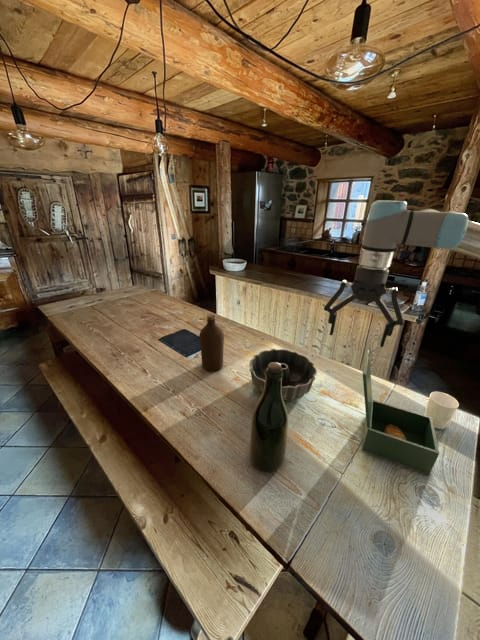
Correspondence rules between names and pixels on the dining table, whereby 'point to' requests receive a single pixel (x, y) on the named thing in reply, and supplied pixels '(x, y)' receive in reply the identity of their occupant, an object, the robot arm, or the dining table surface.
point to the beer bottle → (269, 423)
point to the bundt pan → (284, 372)
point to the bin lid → (367, 387)
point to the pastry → (394, 431)
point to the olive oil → (211, 345)
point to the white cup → (441, 409)
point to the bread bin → (410, 453)
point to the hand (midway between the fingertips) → (355, 338)
